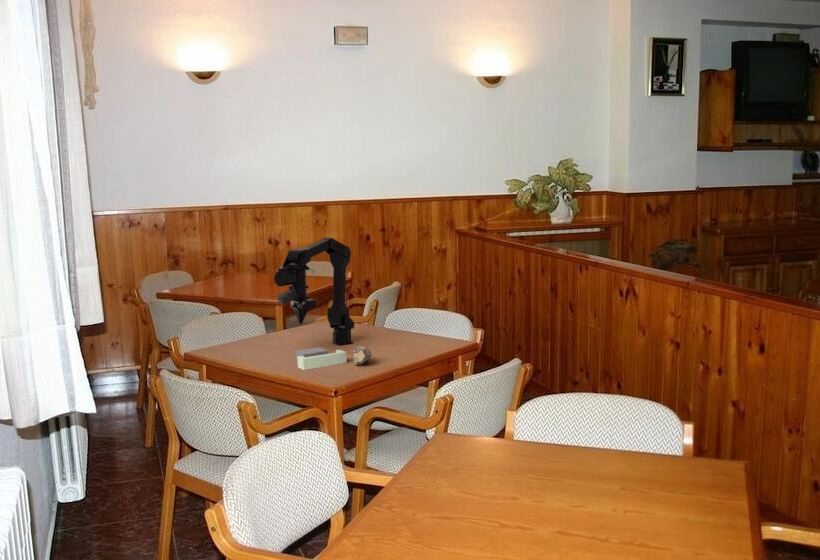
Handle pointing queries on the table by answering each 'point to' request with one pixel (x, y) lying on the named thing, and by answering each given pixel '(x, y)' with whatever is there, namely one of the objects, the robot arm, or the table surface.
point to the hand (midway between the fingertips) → (300, 323)
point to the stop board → (322, 360)
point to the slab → (311, 352)
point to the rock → (361, 355)
